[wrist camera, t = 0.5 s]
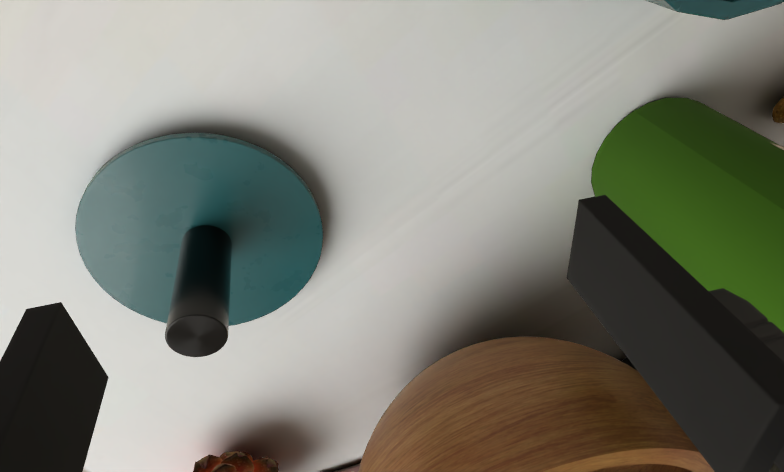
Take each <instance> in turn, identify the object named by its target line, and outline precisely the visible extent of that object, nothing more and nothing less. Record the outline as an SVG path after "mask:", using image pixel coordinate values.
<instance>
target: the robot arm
mask: <svg viewBox="0 0 784 472" xmlns="http://www.w3.org/2000/svg"><path fill="white" fill-rule="evenodd" d="M567 279H568V280H569V281H570V283H571V284H572V285H573V287H574V288H575V289H576V291H577V292H578V293H579V294H580V296H581V297H582V298H583V300H584V301H585V302H586V304H587V305H588V306H589V308H590V309H591V310H592V312H593V313H594V314H595V315H596V317H597V318H598V319H599V321H600V322H601V323H602V325H603V326H604V327H605V329H606V330H607V331H608V333H609V334H610V335H611V336H612V338H613V339H614V340H615V342H616V343H617V344H618V346H619V347H620V348H621V350H622V351H623V352H624V354H625V355H626V356H627V357H628V359H629V360H630V361H631V363H632V364H633V365H634V367H635V368H636V369H637V371H638V372H639V373H640V375H641V376H642V377H643V378H644V380H645V381H646V382H647V384H648V385H649V386H650V388H651V389H652V390H653V392H654V393H655V394H656V396H657V397H658V398H659V399H660V401H661V402H662V403H663V405H664V406H665V407H666V409H667V410H668V411H669V413H670V414H671V415H672V416H673V418H674V419H675V420H676V422H677V423H678V424H679V426H680V427H681V428H682V430H683V431H684V432H685V434H686V435H687V436H688V437H689V439H690V440H691V441H692V443H693V444H694V445H695V447H696V448H697V449H698V451H699V452H700V453H701V455H702V456H703V457H704V458H705V460H706V461H707V462H708V464H709V465H710V466H711V468H712V469H713V470H714V472H769V470H770V469H771V467H772V466H773V464H775V465H776V466H777V467H778V469H779V470H780V471H781V472H784V334H783V333H784V332H782V331H781V330H780V329H779V328H778V327H777V326H776V325H774V324H773V323H772V322H768V320H767V319H768V318H766V317H765V316H764V315H763V314H762V313H761V312H760V311H759V310H757V309H756V308H755V307H754V306H753V305H752V304H751V303H749V302H748V301H747V300H745V299H743V298H741V297H739V296H737V295H735V294H733V293H731V292H730V291H728V290H726V289H724V288H721V289H716V290H712V291H708V290H707V289H706V288H704V287H703V286H702V285H701V284H700V283H699V282H698V281H697V280H696V279H695V278H694V277H693V276H692V275H691V274H690V273H688V272H687V271H686V270H685V269H684V268H683V267H682V266H681V265H680V264H679V263H678V262H677V261H676V260H675V259H673V258H672V257H671V256H670V255H669V254H668V253H667V252H666V251H665V250H664V249H663V248H662V247H661V246H660V245H659V244H657V243H656V242H655V241H654V240H653V239H652V238H651V237H650V236H649V235H648V234H647V233H646V232H645V231H644V230H642V229H641V228H640V227H639V226H638V225H637V224H636V223H635V222H634V221H633V220H632V219H631V218H630V217H629V216H628V215H626V214H625V213H624V212H623V211H622V210H621V209H620V208H619V207H618V206H617V205H616V204H615V203H614V202H613V201H611V200H610V199H609V198H608V197H607V196H606V195H602V196H597V197H592V198H587V199H582V200H579V203H578V209H577V216H576V222H575V228H574V235H573V241H572V247H571V254H570V260H569V267H568V273H567ZM107 380H108V376H107V374H106V373H105V371H104V370H103V368H102V366H101V365H100V363H99V362H98V360H97V358H96V357H95V355H94V354H93V352H92V351H91V349H90V347H89V346H88V344H87V343H86V341H85V339H84V338H83V336H82V335H81V333H80V331H79V330H78V328H77V327H76V325H75V324H74V322H73V320H72V319H71V317H70V316H69V314H68V312H67V311H66V309H65V308H64V306H63V305H62V303H61V302H60V303H55V304H50V305H45V306H40V307H35V308H30V309H26V311H25V313H24V315H23V317H22V319H21V321H20V323H19V325H18V327H17V329H16V331H15V333H14V335H13V337H12V339H11V341H10V343H9V345H8V347H7V349H6V351H5V353H4V355H3V357H2V359H1V361H0V472H82V471H83V467H84V464H85V460H86V457H87V453H88V449H89V446H90V442H91V438H92V435H93V431H94V428H95V424H96V420H97V417H98V413H99V409H100V406H101V402H102V399H103V395H104V391H105V388H106V384H107Z"/></svg>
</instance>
